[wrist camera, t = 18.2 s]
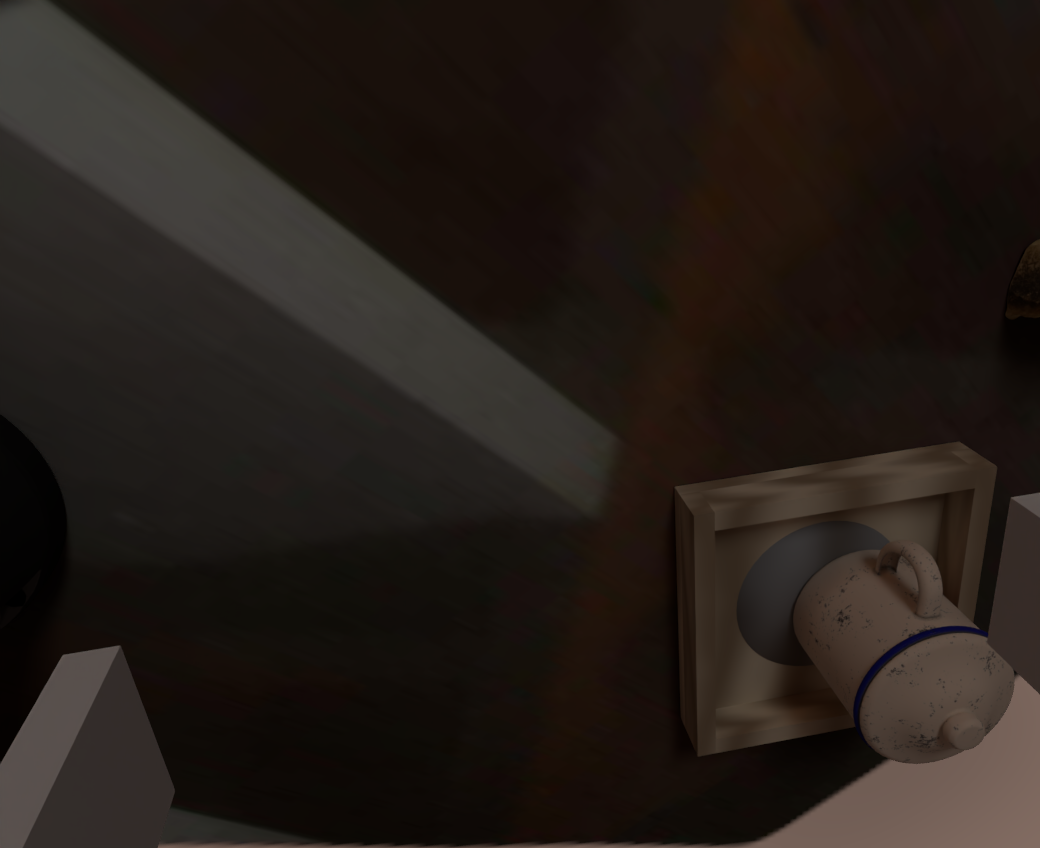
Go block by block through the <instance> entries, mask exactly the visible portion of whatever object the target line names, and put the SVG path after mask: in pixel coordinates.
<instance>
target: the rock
mask: <svg viewBox="0 0 1040 848" xmlns="http://www.w3.org/2000/svg"><path fill="white" fill-rule="evenodd" d="M1005 316H1006V317H1007V318H1008V319H1016V318H1018V317H1019V316H1023V317H1032V318H1038V317H1040V239H1039V240H1037V241H1035V242H1033V243H1032V244H1031V245H1030V246H1029V247H1028V248H1027V249H1026V250H1025V253H1024V255H1023V257H1022V258H1021V260H1020V263H1019V265H1018V267H1017V270H1016V273H1015V275H1014V277H1013V279H1012V281H1011V284H1010V287H1009V292H1008V298H1007V311H1006V314H1005Z"/></svg>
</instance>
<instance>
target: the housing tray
mask: <svg viewBox="0 0 1040 848" xmlns="http://www.w3.org/2000/svg"><path fill="white" fill-rule="evenodd" d="M996 471H997V466H995V465H994V464H992V463H991V462H989V461H988V460H986V459H985V458H983V457H982V456H980V455H979V454H977V453H976V452H974V451H973V450H971V449H970V448H968V447H966V446H965V445H963V444H962V443H960V442H953V443H947V444H941V445H934V446H928V447H922V448H915V449H909V450H903V451H897V452H890V453H884V454H878V455H871V456H865V457H859V458H853V459H846V460H840V461H834V462H827V463H821V464H815V465H808V466H802V467H796V468H790V469H783V470H777V471H771V472H764V473H758V474H752V475H746V476H739V477H733V478H727V479H720V480H714V481H708V482H702V483H695V484H689V485H683V486H676V487H674V489H675V526H676V563H677V600H678V636H679V673H680V710H681V719H682V722H683V724H684V726H685V728H686V731H687V733H688V735H689V737H690V740H691V742H692V744H693V747H694V749H695V751H696V753H697V756H703V755H709V754H714V753H719V752H725V751H730V750H735V749H740V748H746V747H751V746H756V745H762V744H767V743H772V742H778V741H783V740H788V739H793V738H799V737H804V736H809V735H815V734H820V733H825V732H831V731H836V730H841V729H847V728H852V727H855V724H854V720H853V718H852V717H851V715H850V714H849V712H848V711H847V710H846V708H845V707H844V705H843V704H842V703H841V701H840V700H839V698H838V697H837V695H836V694H835V693H834V691H833V690H832V688H831V687H830V686H829V684H828V683H827V681H826V680H825V678H824V677H823V676H822V674H821V673H820V671H819V670H818V669H817V667H816V666H815V664H814V663H813V661H812V660H811V659H810V657H809V656H808V654H807V653H806V652H805V650H804V649H803V647H802V646H801V644H800V643H799V641H798V639H797V637H796V634H795V631H794V625H793V614H794V608H795V604H796V602H797V599H798V597H799V595H800V593H801V591H802V589H803V588H804V586H805V585H806V583H807V582H808V581H809V580H810V579H811V577H812V576H813V575H814V574H815V573H816V572H818V571H819V570H820V569H821V568H822V567H824V566H825V565H826V564H828V563H830V562H831V561H833V560H835V559H837V558H839V557H841V556H843V555H846V554H849V553H853V552H856V551H862V550H881V549H882V548H883V547H884V546H885V545H886V544H887V543H890V542H893V541H899V540H908V541H912V542H915V543H917V544H919V545H920V546H922V547H923V548H924V549H926V550H927V551H928V552H929V553H930V555H931V556H932V557H933V559H934V560H935V562H936V564H937V566H938V569H939V572H940V575H941V579H942V585H943V595H944V596H945V597H946V598H947V599H948V600H949V601H950V602H951V603H952V604H954V605H955V606H956V607H957V608H958V609H959V610H960V611H961V612H962V613H963V614H964V615H965V616H966V617H967V618H968V619H969V620H970V621H971V622H972V623H973V620H974V613H975V607H976V601H977V594H978V588H979V581H980V575H981V568H982V562H983V555H984V549H985V542H986V536H987V529H988V523H989V517H990V510H991V504H992V497H993V491H994V484H995V478H996ZM901 557H903V556H901ZM903 558H904V557H903ZM904 559H905V558H904Z"/></svg>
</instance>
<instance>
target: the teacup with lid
mask: <svg viewBox="0 0 1040 848" xmlns="http://www.w3.org/2000/svg"><path fill="white" fill-rule="evenodd" d="M901 556H903V557H904V558H905V559H904V558H903V557H901ZM793 625H794V631H795V634H796V637H797V639H798V641H799V643H800V644H801V646H802V647H803V649H804V650H805V652H806V653H807V654H808V656H809V657H810V659H811V660H812V661H813V663H814V664H815V666H816V667H817V669H818V670H819V671H820V673H821V674H822V676H823V677H824V678H825V680H826V681H827V683H828V684H829V686H830V687H831V688H832V690H833V691H834V693H835V694H836V695H837V697H838V698H839V700H840V701H841V703H842V704H843V705H844V707H845V708H846V710H847V711H848V712H849V714H850V715H851V717H852V718H853V720H854V724H855V727H856V730H857V732H858V734H859V735H860V737H861V738H862V740H863V741H864V742H865V743H866V744H867V745H868V746H869V747H870V748H872V749H873V750H875V751H876V752H877V753H879V754H881V755H882V756H884V757H887V758H889V759H892V760H895V761H898V762H903V763H914V764H918V763H929V762H935V761H939V760H943V759H945V758H948V757H951V756H954V755H956V754H958V753H960V752H962V751H964V750H968V749H971V748H974V747H976V746H977V745H978V744H979V743H980V742H981V741H982V740H983V738H984V736H986V735H987V734H988V733H989V732H990V731H991V730H992V729H993V728H994V727H995V725H996V724H997V723H998V722H999V720H1000V719H1001V718H1002V716H1003V715H1004V713H1005V712H1006V710H1007V708H1008V706H1009V703H1010V701H1011V698H1012V694H1013V690H1014V671H1013V668H1012V667H1011V666H1010V665H1009V664H1008V663H1007V662H1006V661H1005V660H1004V659H1003V658H1002V657H1001V656H1000V655H999V654H998V653H997V652H996V651H994V650H993V649H992V648H991V647H990V646H989V645H988V644H987V639H988V633H987V632H984V631H982V630H980V629H979V628H978V627H977V626H976V625H974V624H973V623H972V622H971V621H970V620H969V619H968V618H967V617H966V616H965V615H964V614H963V613H962V612H961V611H960V610H959V609H958V608H957V607H956V606H955V605H954V604H952V603H951V602H950V601H949V600H948V599H947V598H946V597H945V596H944V595H943V585H942V579H941V575H940V572H939V569H938V566H937V564H936V562H935V560H934V559H933V557H932V556H931V555H930V553H929V552H928V551H927V550H926V549H924V548H923V547H922V546H920V545H919V544H917V543H915V542H912V541H908V540H899V541H893V542H890V543H887V544H886V545H885V546H884V547H883V548H882V549H881V550H862V551H856V552H853V553H849V554H846V555H843V556H841V557H839V558H837V559H835V560H833V561H831V562H830V563H828V564H826V565H825V566H824V567H822V568H821V569H820V570H819V571H818V572H816V573H815V574H814V575H813V576H812V577H811V579H810V580H809V581H808V582H807V583H806V585H805V586H804V588H803V589H802V591H801V593H800V595H799V597H798V599H797V602H796V604H795V608H794V614H793Z"/></svg>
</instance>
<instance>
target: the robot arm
mask: <svg viewBox="0 0 1040 848" xmlns="http://www.w3.org/2000/svg"><path fill="white" fill-rule="evenodd" d="M64 536H65V513H64V506H63V502H62V497H61V494H60V491H59V488H58V485H57V483H56V481H55V478H54V476H53V474H52V472H51V470H50V468H49V467H48V465H47V463H46V462H45V460H44V459H43V457H42V456H41V454H40V453H39V452H38V450H37V449H36V448H35V447H34V445H33V444H32V443H31V442H30V441H29V440H28V439H27V438H26V437H25V435H24V434H23V433H22V432H21V431H19V430H18V429H17V428H16V427H15V426H14V425H13V424H12V423H10V422H9V421H8V420H7V419H6V418H4V417H3V416H2V415H0V629H2V628H3V627H5V626H6V625H7V624H9V623H10V622H11V621H12V620H14V619H15V618H16V617H17V616H18V615H19V614H20V613H21V612H22V611H23V610H24V609H25V608H26V607H27V606H28V605H29V604H30V603H31V602H32V600H33V599H34V598H35V596H36V595H37V593H38V592H39V591H40V589H41V588H42V586H43V585H44V583H45V582H46V581H47V579H48V578H49V576H50V575H51V573H52V571H53V570H54V568H55V566H56V564H57V562H58V560H59V557H60V554H61V551H62V547H63V543H64ZM987 644H988V645H989V646H990V647H991V648H992V649H993V650H994V651H996V652H997V653H998V654H999V655H1000V656H1001V657H1002V658H1003V659H1004V660H1005V661H1006V662H1007V663H1008V664H1009V665H1010V666H1011V667H1012V668H1013V669H1014V670H1015V671H1016V672H1017V673H1018V674H1019V675H1020V676H1021V677H1022V678H1023V679H1024V680H1026V681H1027V682H1028V683H1029V684H1030V685H1031V686H1032V687H1033V688H1034V689H1035V690H1036V691H1037V692H1038V693H1039V694H1040V493H1036V494H1030V495H1024V496H1018V497H1012V498H1011V500H1010V506H1009V512H1008V518H1007V524H1006V530H1005V536H1004V542H1003V548H1002V554H1001V560H1000V567H999V573H998V579H997V585H996V591H995V597H994V603H993V609H992V615H991V621H990V627H989V633H988V639H987ZM174 793H175V789H174V787H173V784H172V781H171V779H170V776H169V773H168V771H167V768H166V765H165V763H164V760H163V757H162V755H161V752H160V749H159V747H158V744H157V741H156V739H155V736H154V734H153V731H152V728H151V726H150V723H149V720H148V718H147V715H146V712H145V710H144V707H143V704H142V702H141V699H140V696H139V694H138V691H137V688H136V686H135V683H134V680H133V678H132V675H131V672H130V670H129V667H128V664H127V662H126V659H125V656H124V654H123V651H122V649H121V646H115V647H109V648H103V649H97V650H91V651H85V652H79V653H73V654H67V655H63V656H62V658H61V659H60V661H59V663H58V665H57V666H56V668H55V670H54V672H53V673H52V675H51V677H50V679H49V680H48V682H47V684H46V685H45V687H44V689H43V691H42V692H41V694H40V696H39V698H38V699H37V701H36V703H35V705H34V706H33V708H32V710H31V712H30V713H29V715H28V717H27V719H26V720H25V722H24V724H23V725H22V727H21V729H20V731H19V732H18V734H17V736H16V738H15V739H14V741H13V743H12V745H11V746H10V748H9V750H8V752H7V753H6V755H5V757H4V759H3V760H2V762H1V764H0V848H158V844H159V841H160V838H161V835H162V831H163V828H164V825H165V822H166V818H167V815H168V812H169V809H170V806H171V802H172V799H173V796H174Z"/></svg>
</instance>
